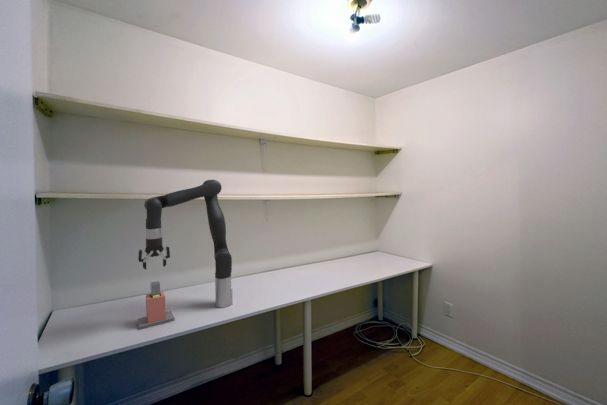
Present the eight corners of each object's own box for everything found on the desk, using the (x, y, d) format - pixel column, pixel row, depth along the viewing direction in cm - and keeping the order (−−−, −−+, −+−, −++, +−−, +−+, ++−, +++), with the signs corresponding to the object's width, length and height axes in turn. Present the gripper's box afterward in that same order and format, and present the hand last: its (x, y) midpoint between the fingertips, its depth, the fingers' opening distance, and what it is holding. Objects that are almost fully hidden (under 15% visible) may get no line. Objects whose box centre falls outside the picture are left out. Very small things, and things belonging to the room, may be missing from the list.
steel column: (159, 314, 146) (158, 281, 145) (161, 317, 143) (160, 283, 141) (151, 316, 144) (150, 282, 142) (152, 320, 140) (151, 285, 139)
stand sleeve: (171, 313, 152) (170, 287, 151) (174, 320, 144) (173, 293, 143) (137, 321, 143) (136, 293, 142) (139, 329, 135) (138, 300, 134)
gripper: (167, 234, 147) (168, 263, 149) (137, 237, 139) (138, 268, 140) (170, 236, 141) (171, 267, 142) (138, 239, 133) (139, 272, 134)
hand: (154, 267), depth 141 cm, fingers open, 8 cm apart
